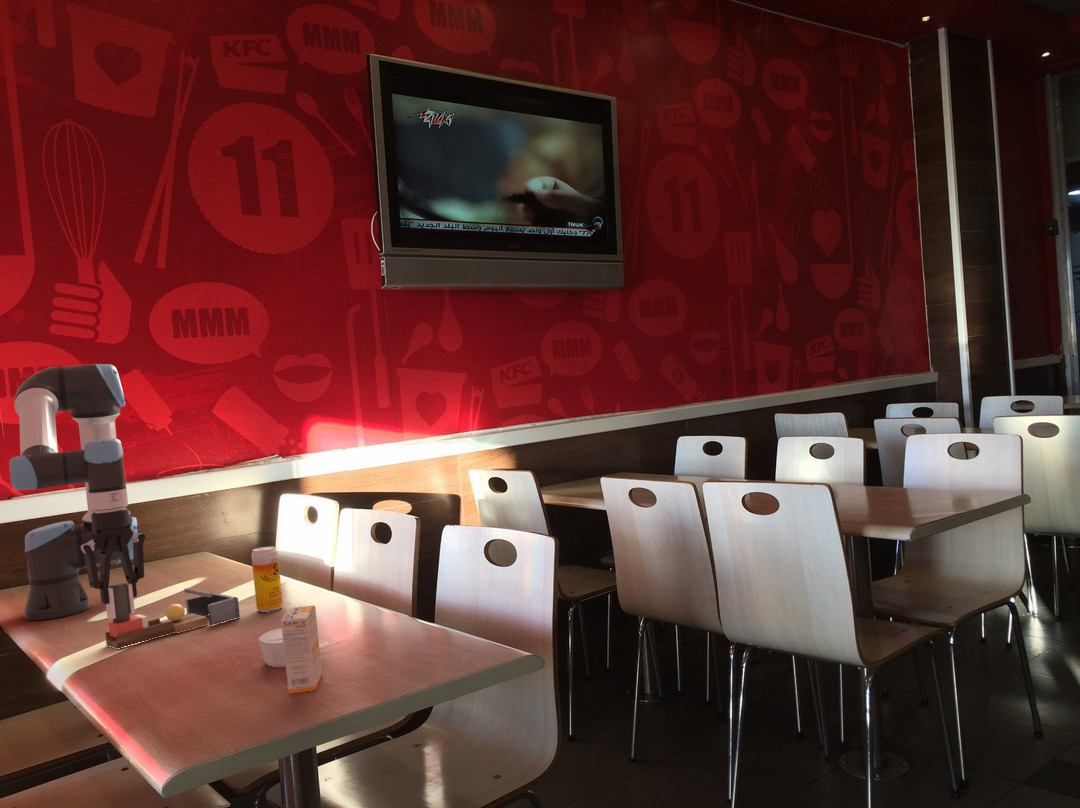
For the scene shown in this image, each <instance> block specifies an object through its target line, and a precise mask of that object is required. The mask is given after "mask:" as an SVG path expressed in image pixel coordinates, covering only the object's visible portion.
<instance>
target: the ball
mask: <svg viewBox="0 0 1080 808" xmlns="http://www.w3.org/2000/svg"><path fill="white" fill-rule="evenodd" d="M185 611H186V610H185V607H184V606H183V605H182V604H180V603H172V604H170V605H169V606H168V607H167V609H166V612H165V615H166V618H167V619H169V620H170V621H179V620H181V619H182V618H183V616H184V615H185V614H186V613H185Z"/></svg>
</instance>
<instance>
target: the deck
mask: <svg viewBox="0 0 1080 808" xmlns="http://www.w3.org/2000/svg"><path fill="white" fill-rule="evenodd" d="M169 621H170V620H169V619H168V618H167V619H164V620H160V624H162V623H165V622H169ZM206 624H208V616H201V615H197V614H193V613H189V614H187V613H185V614H184V616H183V618H182V619H181V620H179V621H171V628H172V632H175V633H177V632H181V631H184V630H188V629H192V628H195V627H199V626H202V625H206ZM208 625H209V624H208Z"/></svg>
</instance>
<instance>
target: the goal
mask: <svg viewBox="0 0 1080 808" xmlns="http://www.w3.org/2000/svg"><path fill="white" fill-rule="evenodd" d="M183 590H184V593H187V594H190V595H191V594H192V595H197V596H194V597H190V598H186V599H185V606H186V607H185V609H186V610H185V611H186V614H189V613H193V614H197V615H201V616H205V615H208V614H209V616H208V621H209V626H210V625H213V624H217V623H220V622H224V621H227V620H230V619H234V618H238V617H240V618H241V615H240V605H239V598H238V597H237V596H232V595H226V594H222V593H217V592H208V591H203V590H199V589H193V588H189V587H186V588H184V589H183ZM205 617H206V616H205Z"/></svg>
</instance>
